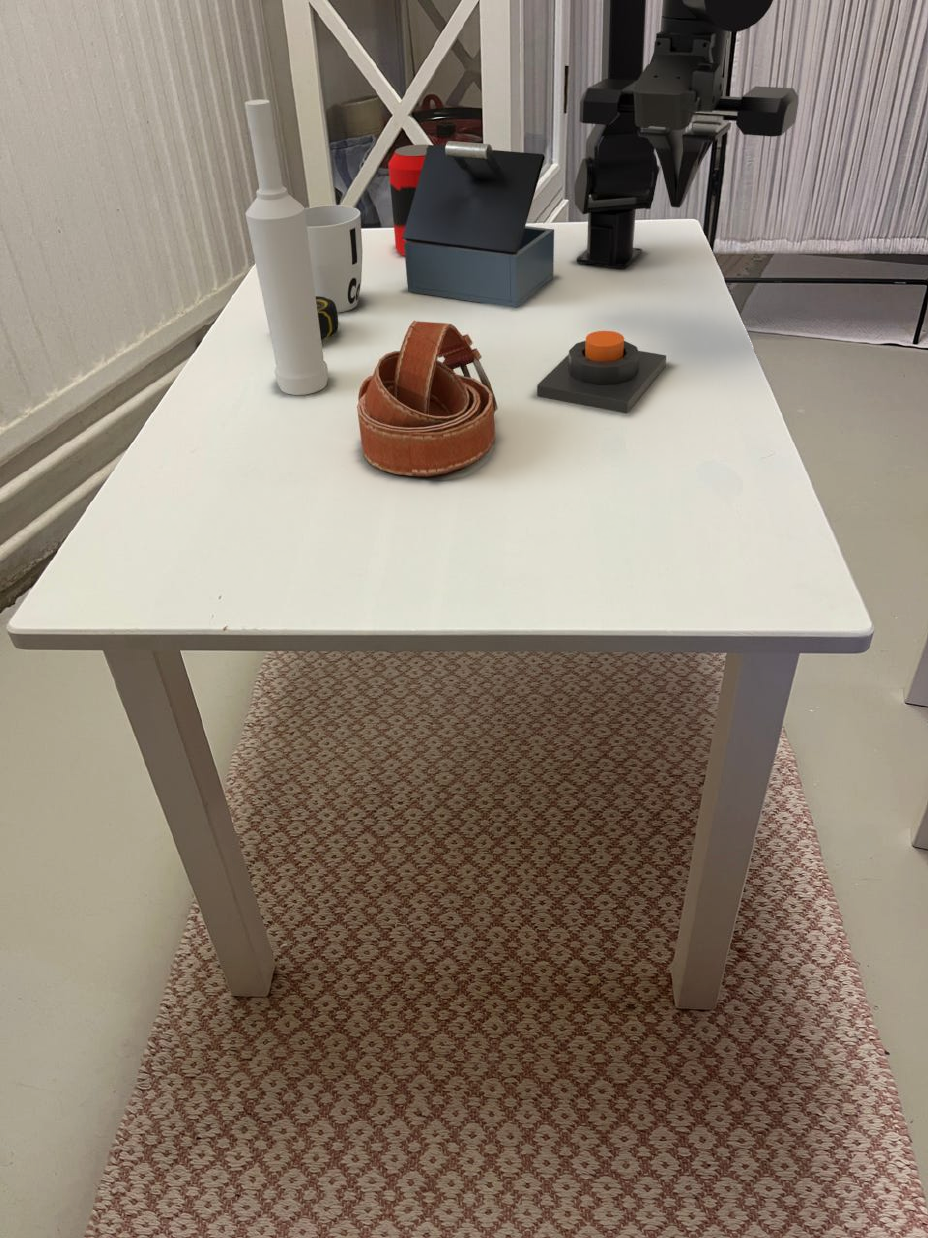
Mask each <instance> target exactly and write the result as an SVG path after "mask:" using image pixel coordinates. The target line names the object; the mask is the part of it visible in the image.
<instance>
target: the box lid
mask: <svg viewBox="0 0 928 1238" xmlns="http://www.w3.org/2000/svg"><path fill="white" fill-rule="evenodd" d="M427 145H428V149H427V152H426V156H425V159H424V163H423V166H422V170H421V173H420V177H419V180H418V184H417V187H416V191H415V194H414V198H413V201H412V205H411V209H410V212H409V216H408V219H407V223H406V226H405V230H404V233H403V237H402V238H403V239H404V240H406V241H413V242H421V243H429V244H437V245H444V246H452V247H460V248H468V249H476V250H483V251H491V252H499V253H507V254H515V255H517V253H518V250H519V246H520V243H521V239H522V236H523V232H524V229H525V226H527V221H528V218H529V215H530V211H531V207H532V203H533V200H534V197H535V195H536V190H537V186H538V183H539V180H540V176H541V173H542V169H543V166H544V163H545V158H546V156H545V154H543V153H534V152H524V151H523V152H522V151H510V150H499V149H498V150H497V149H493V147H492V145H491V144H490V143H481V142H480V143H478V142H467V141H466V142H465V141H453V140H448V141H447V142H446V144H445V145H437V144H436V145H435V144H427Z"/></svg>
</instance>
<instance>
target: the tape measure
mask: <svg viewBox="0 0 928 1238" xmlns="http://www.w3.org/2000/svg"><path fill="white" fill-rule="evenodd" d="M316 304H317V312H318V320H319V328H320V336H321V342H322V341H324V340H327V339H329V338H331V337H333V336H334V335H335V334H336V333H338V331H339V326H340V325H339V324H340V323H339V322H340V321H339V313H337V308H336V305H335V303H334V302H333V301H332V300H330V299H327V298H325V297H320V296H316Z"/></svg>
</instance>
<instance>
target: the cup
mask: <svg viewBox="0 0 928 1238" xmlns="http://www.w3.org/2000/svg"><path fill="white" fill-rule="evenodd" d="M304 209H305V217H306V225H307V233H308V241H309V248H310V256H311V264H312V272H313V280H314V288H315V296H320V297H325V298H327V299H330V300H332V301H333V302H334V303H335V305H336V308H337V313H338V314H340V313H344V312H348V311H351V310H353V309H354V308H355V307H357V306H358V303H359V297H360V291H361V286H362V276H363V275H362V274H363V238H362V237H363V235H362V219H361V218H362V217H361V211H360V209H358V208H356V207H354V206H351V205H344V204H343V205H342V204H326V205H315V206H310V207H304Z"/></svg>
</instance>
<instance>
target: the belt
mask: <svg viewBox="0 0 928 1238" xmlns="http://www.w3.org/2000/svg"><path fill="white" fill-rule="evenodd" d="M401 343H402V344H401V346H400V348H399V349H400V350H395V351H391V352H388V353H385V354H384V355H383V356H382V357H381V358H379V360H378V361H377V364H376V366H375V369H374V371H373V374H372V375H369V376H368V377H367V378H366V379H364V380H363V382H362V384H361V385H360V387H359V392H358V396H357V397H358V398H357V399H358V403H357V406H356V408H357V409H356V410H357V418H358V426H359V433H360V441H361V449H362V453H363V457H364V458H365V460H367V462H368V463H369V464H370V465H372V466H373V467H375V468H377V469H379V470H381V471H383V472H387V473H391V474H394V475H402V476H409V477H427V478H429V477H433V476H439V475H444V474H449V473H451V472H454V471H457V470H460V469H463V468H466V467H468V466H470V465H472V464H474V463H476V462H478V461H480V460H481V459H482V458H483V457H484V456H485V455H487V454H488V453H489V451H490V450H491V449H492V446H493V445H494V443H495V440H496V439H495V437H496V427H495V413H496V412H497V411H498V409H499V408H498V404H497V400H496V397H495V394H494V390H493V387H492V385H491V381H490V379H489V377H488V376H487V374H486V371H485V368H484V367H483V365H482V363H481V359H482V357H483V356H482V355H481V353H480V351H479V350H478V348H477V347H476V348H472V347H471V346H472V345H473V343H474V342H473V340H472V338H471V337H470V336H469V334H468V333H466V334H463V335H462V333H461V331H460V330H459V329H458V328H457V327H456V326H455V325H454V324H452V323H449V322H448V323H447V322H446V323H445V322H434V321H433V322H432V321H431V322H430V321H419V320H418V321H417V320H413V321H412V322H411V323H410V325H409V327H408V328H407V330H406V333H405V335H404V337H403V340H402V342H401ZM438 358H439V359H441V358H443V359H444V360H443V361H442V362H441V361H440V360H438ZM470 364H473V367H474V368H475V371H476V374H477V376H478V378H479V380H477V379H476V378H473V377H472V376H471V374H470V371H469V369H468V365H470ZM456 369H460V370H461V372H462V374H463V375H460V374H457V373H456V372H455V371H454V370H456Z"/></svg>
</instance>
